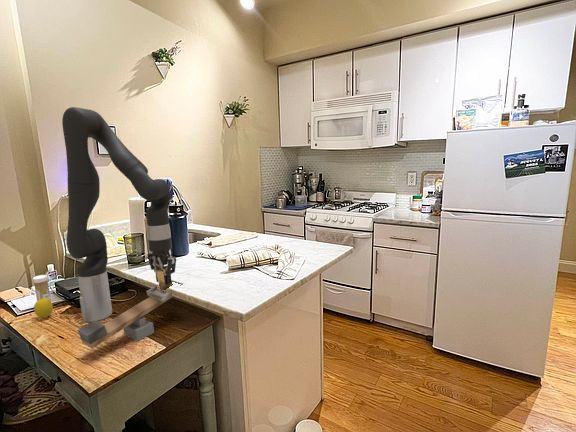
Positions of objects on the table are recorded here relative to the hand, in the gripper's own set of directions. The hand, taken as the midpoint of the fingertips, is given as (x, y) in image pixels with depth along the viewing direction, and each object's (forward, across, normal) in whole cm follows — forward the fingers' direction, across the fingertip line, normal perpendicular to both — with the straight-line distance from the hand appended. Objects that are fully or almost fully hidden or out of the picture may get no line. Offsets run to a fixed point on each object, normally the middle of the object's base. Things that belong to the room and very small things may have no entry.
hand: (163, 282), depth 112 cm
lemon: (+15, +41, +24) cm, 50 cm away
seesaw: (+7, 0, +11) cm, 13 cm away
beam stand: (+14, 0, +11) cm, 18 cm away
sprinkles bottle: (+15, +50, +21) cm, 56 cm away
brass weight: (+2, 0, -1) cm, 2 cm away
